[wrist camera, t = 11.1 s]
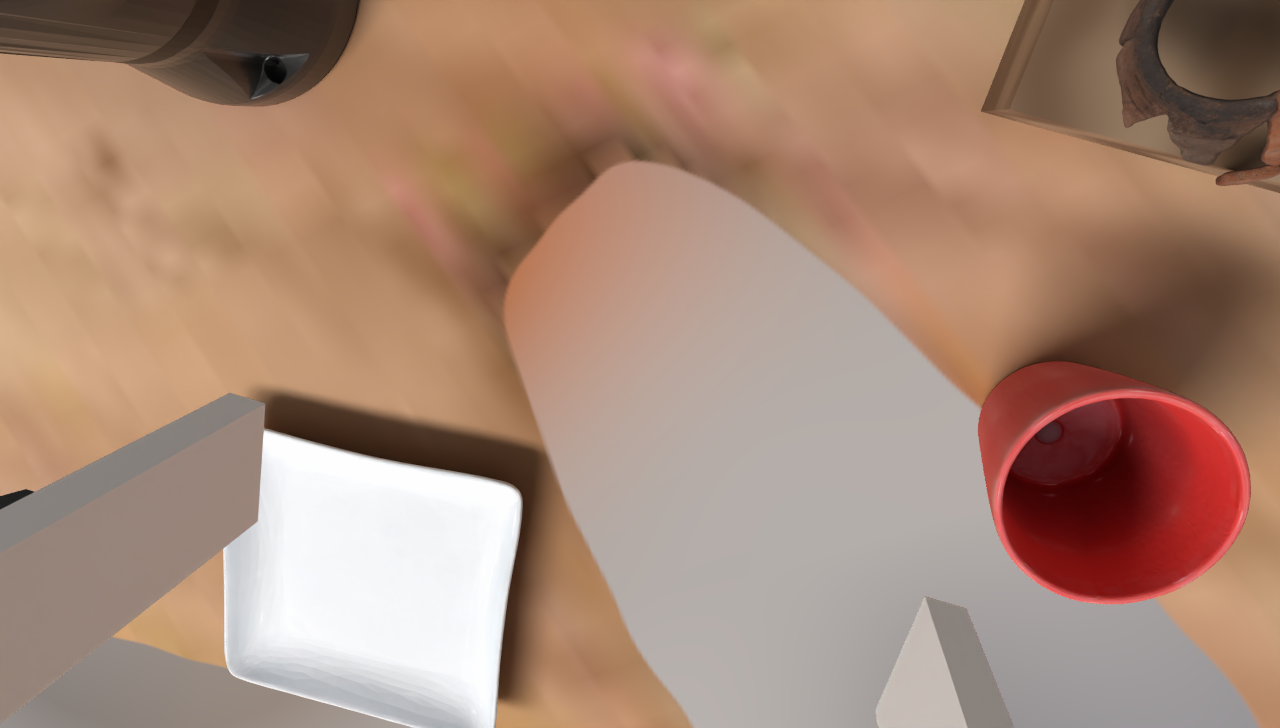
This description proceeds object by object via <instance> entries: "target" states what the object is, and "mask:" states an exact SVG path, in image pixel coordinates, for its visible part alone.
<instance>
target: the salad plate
mask: <svg viewBox="0 0 1280 728" xmlns="http://www.w3.org/2000/svg"><path fill="white" fill-rule="evenodd" d="M522 509H523V500H522V495H521V493H520V491H519V490H518V489H517V488H516V487H515V486H514V485H512V484H510V483H508V482H505V481H501V480H496V479H491V478H487V477H483V476H478V475H472V474H467V473H461V472H456V471H450V470H444V469H438V468H432V467H426V466H420V465H414V464H409V463H403V462H398V461H393V460H388V459H383V458H378V457H374V456H369V455H365V454H360V453H356V452H352V451H348V450H344V449H340V448H336V447H332V446H328V445H325V444H321V443H317V442H313V441H310V440H306V439H302V438H299V437H295V436H291V435H288V434H284V433H281V432H277V431H274V430H270V429H267V428H264V434H263V450H262V465H261V481H260V496H259V512H258V522H256V523H255V524H254V525H253V526H251V527H250V528H249V529H248V530H246V531H245V532H244V533H242V534H241V535H240V536H239V537H237V538H236V539H235V540H234V541H232V542H231V543H230V544H229V545H227V546H226V547H225V548H223V559H224V647H225V658H226V664H227V667H228V669H229V671H230V673H231V674H232V675H233V676H235V677H237V678H239V679H242V680H245V681H248V682H251V683H255V684H258V685H262V686H265V687H268V688H272V689H276V690H280V691H284V692H287V693H291V694H294V695H298V696H302V697H305V698H309V699H313V700H316V701H320V702H323V703H328V704H331V705H334V706H338V707H341V708H345V709H349V710H353V711H356V712H360V713H363V714H367V715H370V716H374V717H377V718H381V719H384V720H388V721H392V722H395V723H399V724H403V725H406V726H409V727H413V728H495V726H496V717H497V704H498V689H499V672H500V660H501V651H502V641H503V633H504V625H505V617H506V609H507V602H508V595H509V589H510V584H511V578H512V573H513V567H514V562H515V557H516V552H517V547H518V541H519V535H520V528H521V520H522Z"/></svg>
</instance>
